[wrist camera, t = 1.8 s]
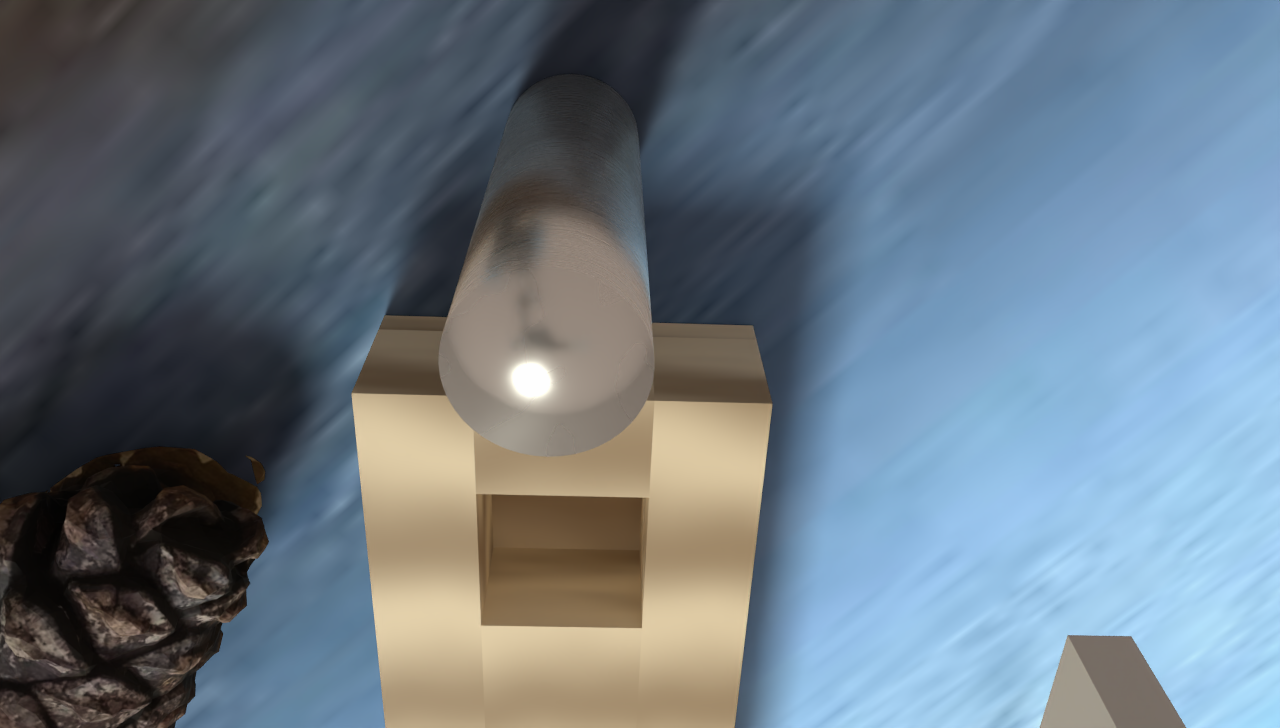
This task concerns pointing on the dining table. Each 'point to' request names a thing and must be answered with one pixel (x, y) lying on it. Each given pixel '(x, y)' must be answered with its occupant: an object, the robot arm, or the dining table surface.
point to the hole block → (563, 545)
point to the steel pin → (555, 279)
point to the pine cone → (121, 587)
